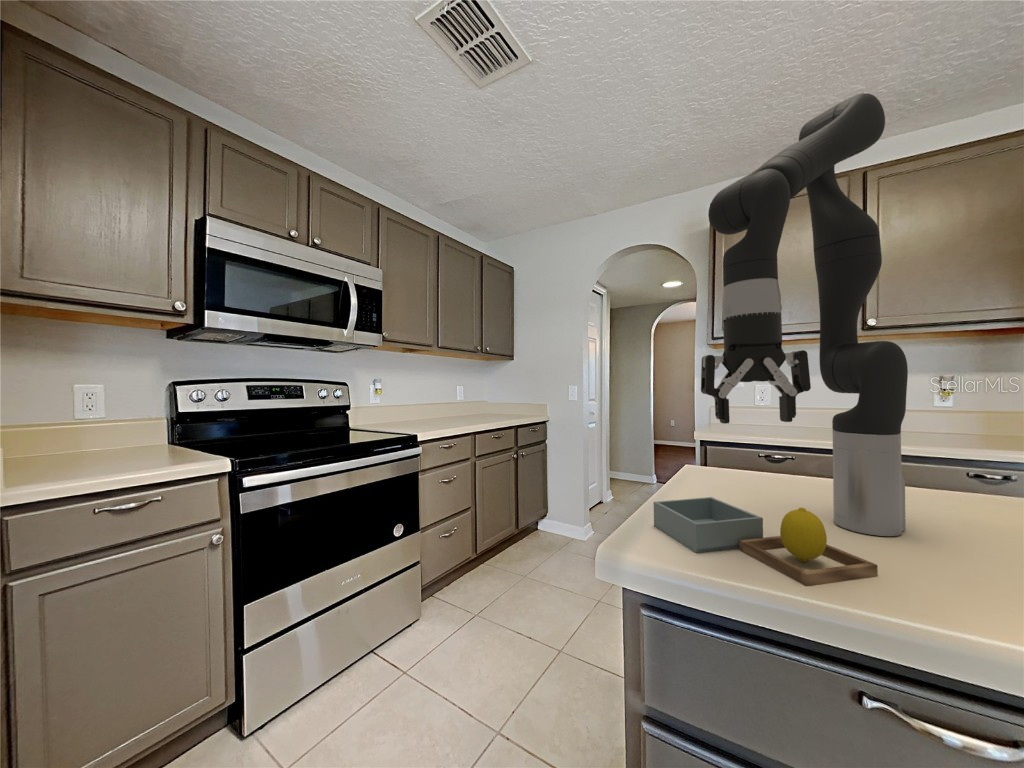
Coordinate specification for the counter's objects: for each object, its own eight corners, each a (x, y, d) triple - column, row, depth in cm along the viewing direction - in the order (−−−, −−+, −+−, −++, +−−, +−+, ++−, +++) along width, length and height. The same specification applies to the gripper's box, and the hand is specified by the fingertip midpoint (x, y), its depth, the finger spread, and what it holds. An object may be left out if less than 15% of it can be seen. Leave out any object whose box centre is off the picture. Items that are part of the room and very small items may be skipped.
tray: (800, 542, 66) (800, 533, 66) (877, 575, 55) (877, 564, 55) (739, 549, 64) (739, 540, 64) (806, 585, 52) (806, 574, 52)
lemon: (835, 572, 56) (834, 514, 56) (791, 569, 57) (790, 512, 57) (814, 555, 61) (813, 503, 61) (774, 552, 62) (773, 501, 62)
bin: (711, 520, 77) (711, 496, 77) (763, 545, 65) (762, 517, 65) (653, 525, 75) (653, 501, 75) (696, 553, 63) (696, 524, 63)
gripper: (790, 315, 63) (793, 418, 63) (693, 320, 65) (697, 420, 65) (818, 306, 55) (822, 424, 55) (708, 313, 57) (712, 426, 58)
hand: (754, 422), depth 60 cm, fingers open, 8 cm apart
